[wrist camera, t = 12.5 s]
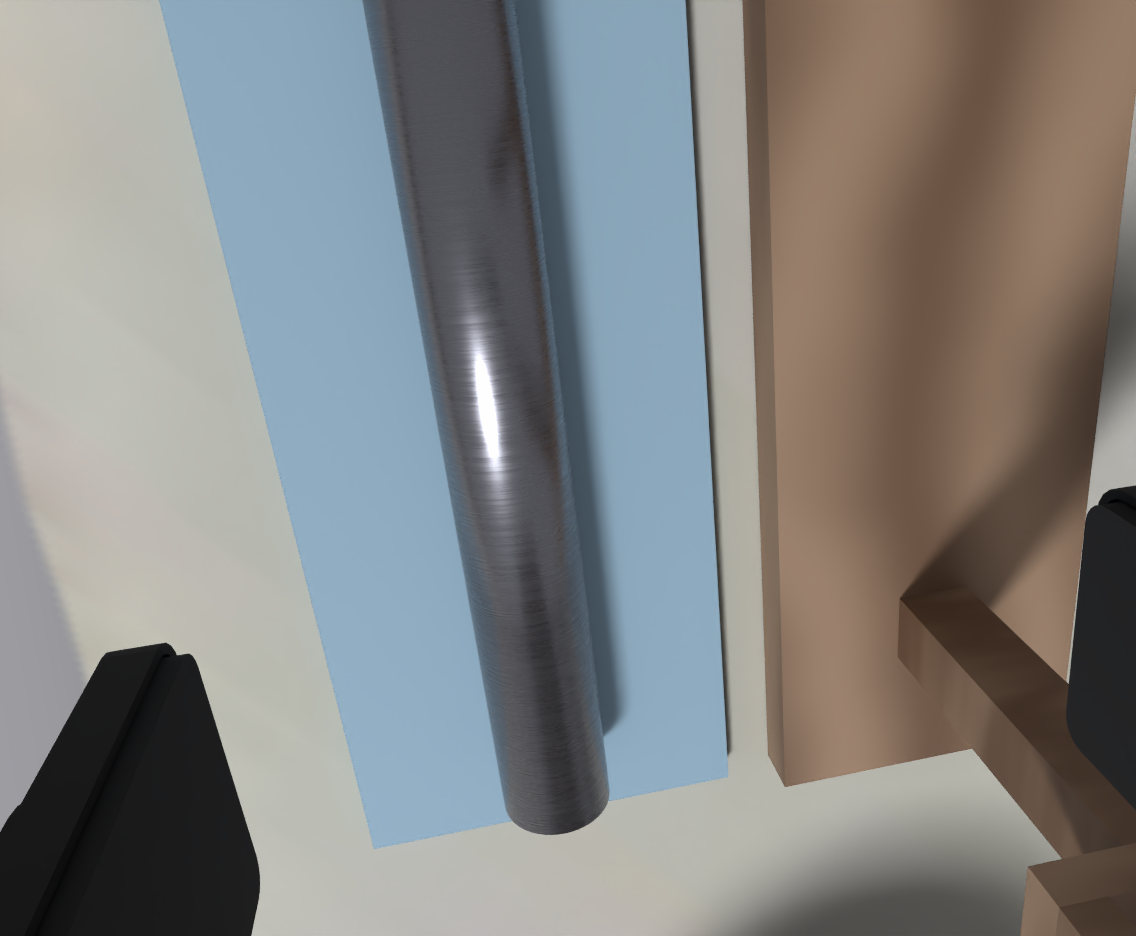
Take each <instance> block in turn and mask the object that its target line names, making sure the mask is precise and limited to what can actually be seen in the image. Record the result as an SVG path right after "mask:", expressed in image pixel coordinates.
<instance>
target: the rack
mask: <svg viewBox="0 0 1136 936" xmlns="http://www.w3.org/2000/svg"><path fill="white" fill-rule="evenodd" d="M743 26H744V56H745V85H746V115H747V144H748V174H749V204H750V233H751V263H752V292H753V322H754V351H755V381H756V411H757V440H758V470H759V499H760V529H761V558H762V588H763V618H764V647H765V677H766V706H767V736H768V756H769V757H770V759H771V761H772V763H773V765H774V767H775V769H776V771H777V773H778V775H779V776H780V778H781V780H782V782H783V784H784V786H785V787H788V786H793V785H797V784H802V783H807V782H812V781H817V780H822V779H826V778H831V777H836V776H841V775H846V774H851V773H856V772H860V771H865V770H870V769H875V768H880V767H885V766H890V765H894V764H899V763H904V762H909V761H914V760H919V759H923V758H928V757H933V756H938V755H943V754H948V753H953V752H957V751H962V750H967V749H973V750H974V751H975V753H976V754H977V755H978V756H979V757H980V759H981V760H982V761H983V762H984V764H985V765H986V766H987V767H988V768H989V770H990V771H991V772H992V773H993V775H994V776H995V777H996V778H997V779H998V781H999V782H1000V783H1001V784H1002V786H1003V787H1004V788H1005V789H1006V791H1007V792H1008V793H1009V794H1010V795H1011V797H1012V798H1013V799H1014V800H1015V802H1016V803H1017V804H1018V805H1019V806H1020V808H1021V809H1022V810H1023V811H1024V813H1025V814H1026V815H1027V816H1028V817H1029V819H1030V820H1031V821H1032V822H1033V824H1034V825H1035V826H1036V827H1037V829H1038V830H1039V831H1040V832H1041V833H1042V835H1043V836H1044V837H1045V838H1046V840H1047V841H1048V842H1049V843H1050V844H1051V846H1052V847H1053V848H1054V849H1055V851H1056V852H1057V853H1058V854H1059V855H1060V857H1061V858H1062V859H1060V860H1056V861H1051V862H1047V863H1042V864H1038V865H1033V866H1028V870H1027V879H1026V888H1025V898H1024V907H1023V916H1022V925H1021V934H1020V936H1136V810H1135V809H1134V808H1133V807H1132V806H1131V805H1130V804H1129V803H1128V802H1127V800H1126V799H1125V798H1124V797H1123V796H1122V795H1121V794H1120V793H1119V792H1118V791H1117V790H1116V789H1115V788H1114V787H1113V785H1112V784H1111V783H1110V782H1109V781H1108V780H1107V779H1106V778H1105V777H1104V776H1103V775H1102V774H1101V773H1100V772H1099V771H1098V769H1097V768H1096V767H1095V766H1094V765H1093V764H1092V763H1091V762H1090V761H1089V760H1088V759H1087V758H1086V757H1085V756H1084V755H1083V753H1082V752H1081V751H1080V750H1079V749H1078V748H1077V746H1076V745H1075V743H1074V741H1073V740H1072V738H1071V735H1070V733H1069V730H1068V726H1067V721H1066V708H1067V698H1068V688H1069V684H1068V683H1067V682H1066V679H1067V670H1068V662H1069V653H1070V645H1071V636H1072V628H1073V619H1074V611H1075V602H1076V594H1077V586H1078V577H1079V569H1080V560H1081V552H1082V543H1083V535H1084V526H1085V518H1086V509H1087V501H1088V492H1089V484H1090V475H1091V467H1092V459H1093V450H1094V442H1095V433H1096V425H1097V416H1098V408H1099V399H1100V391H1101V382H1102V374H1103V365H1104V357H1105V348H1106V340H1107V332H1108V323H1109V315H1110V306H1111V298H1112V289H1113V281H1114V272H1115V264H1116V255H1117V247H1118V238H1119V230H1120V221H1121V213H1122V205H1123V196H1124V188H1125V179H1126V171H1127V162H1128V154H1129V145H1130V137H1131V128H1132V120H1133V111H1134V103H1135V94H1136V0H743Z"/></svg>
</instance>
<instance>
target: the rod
mask: <svg viewBox="0 0 1136 936" xmlns="http://www.w3.org/2000/svg"><path fill="white" fill-rule="evenodd" d="M362 2H363V8H364V14H365V19H366V25H367V31H368V36H369V42H370V48H371V53H372V59H373V65H374V70H375V76H376V81H377V87H378V93H379V98H380V104H381V110H382V115H383V121H384V127H385V132H386V138H387V144H388V149H389V155H390V161H391V166H392V172H393V177H394V183H395V189H396V194H397V200H398V206H399V211H400V217H401V223H402V228H403V234H404V240H405V245H406V251H407V256H408V262H409V268H410V273H411V279H412V285H413V290H414V296H415V302H416V307H417V313H418V319H419V324H420V330H421V336H422V341H423V347H424V352H425V358H426V364H427V369H428V375H429V381H430V386H431V392H432V398H433V403H434V409H435V415H436V420H437V426H438V431H439V437H440V443H441V448H442V454H443V460H444V465H445V471H446V477H447V482H448V488H449V494H450V499H451V505H452V511H453V516H454V522H455V527H456V533H457V539H458V544H459V550H460V556H461V561H462V567H463V573H464V578H465V584H466V590H467V595H468V601H469V606H470V612H471V618H472V623H473V629H474V635H475V640H476V646H477V652H478V657H479V663H480V669H481V674H482V680H483V686H484V691H485V697H486V702H487V708H488V714H489V719H490V725H491V731H492V736H493V742H494V748H495V753H496V759H497V765H498V770H499V776H500V781H501V787H502V793H503V798H504V804H505V809H506V812H507V814H508V816H509V817H510V819H511V820H512V821H513V822H514V823H515V824H517V825H518V826H519V827H521V828H523V829H525V830H527V831H530V832H533V833H537V834H544V835H557V834H564V833H568V832H572V831H575V830H578V829H580V828H582V827H584V826H586V825H588V824H589V823H591V822H592V821H594V820H595V819H596V818H597V817H598V816H599V815H600V814H601V813H602V811H603V810H604V809H605V807H606V805H607V803H608V800H609V795H610V789H609V780H608V772H607V763H606V755H605V747H604V738H603V730H602V722H601V713H600V705H599V697H598V688H597V680H596V671H595V663H594V655H593V646H592V638H591V630H590V621H589V613H588V604H587V596H586V588H585V579H584V571H583V563H582V554H581V546H580V538H579V529H578V521H577V512H576V504H575V496H574V487H573V479H572V471H571V462H570V454H569V445H568V437H567V429H566V420H565V412H564V404H563V395H562V387H561V379H560V370H559V362H558V353H557V345H556V337H555V328H554V320H553V312H552V303H551V295H550V287H549V278H548V270H547V261H546V253H545V245H544V236H543V228H542V220H541V211H540V203H539V194H538V186H537V178H536V169H535V161H534V153H533V144H532V136H531V128H530V119H529V111H528V102H527V94H526V86H525V77H524V69H523V61H522V52H521V44H520V35H519V27H518V19H517V10H516V2H515V0H362Z"/></svg>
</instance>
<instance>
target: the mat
mask: <svg viewBox="0 0 1136 936" xmlns="http://www.w3.org/2000/svg"><path fill="white" fill-rule="evenodd" d="M159 2H160V6H161V10H162V14H163V17H164V21H165V25H166V29H167V33H168V37H169V41H170V45H171V49H172V53H173V57H174V61H175V65H176V69H177V73H178V77H179V81H180V85H181V89H182V92H183V96H184V100H185V104H186V108H187V112H188V116H189V120H190V124H191V128H192V132H193V136H194V140H195V144H196V148H197V152H198V156H199V160H200V164H201V168H202V171H203V175H204V179H205V183H206V187H207V191H208V195H209V199H210V203H211V207H212V211H213V215H214V219H215V223H216V227H217V231H218V235H219V239H220V243H221V247H222V250H223V254H224V258H225V262H226V266H227V270H228V274H229V278H230V282H231V286H232V290H233V294H234V298H235V302H236V306H237V310H238V314H239V318H240V322H241V325H242V329H243V333H244V337H245V341H246V345H247V349H248V353H249V357H250V361H251V365H252V369H253V373H254V377H255V381H256V385H257V389H258V393H259V397H260V401H261V404H262V408H263V412H264V416H265V420H266V424H267V428H268V432H269V436H270V440H271V444H272V448H273V452H274V456H275V460H276V464H277V468H278V472H279V476H280V479H281V483H282V487H283V491H284V495H285V499H286V503H287V507H288V511H289V515H290V519H291V523H292V527H293V531H294V535H295V539H296V543H297V547H298V551H299V555H300V558H301V562H302V566H303V570H304V574H305V578H306V582H307V586H308V590H309V594H310V598H311V602H312V606H313V610H314V614H315V618H316V622H317V626H318V630H319V633H320V637H321V641H322V645H323V649H324V653H325V657H326V661H327V665H328V669H329V673H330V677H331V681H332V685H333V689H334V693H335V697H336V701H337V705H338V709H339V712H340V716H341V720H342V724H343V728H344V732H345V736H346V740H347V744H348V748H349V752H350V756H351V760H352V764H353V768H354V772H355V776H356V780H357V784H358V788H359V791H360V795H361V799H362V803H363V807H364V811H365V815H366V819H367V823H368V827H369V831H370V835H371V839H372V843H373V847H374V849H377V848H382V847H386V846H391V845H396V844H401V843H406V842H411V841H416V840H421V839H426V838H431V837H436V836H440V835H445V834H450V833H455V832H460V831H465V830H470V829H475V828H480V827H485V826H489V825H494V824H499V823H504V822H509V821H512V820H511V819H510V817H509V816H508V814H507V812H506V809H505V804H504V798H503V793H502V787H501V781H500V776H499V770H498V765H497V759H496V753H495V748H494V742H493V736H492V731H491V725H490V719H489V714H488V708H487V702H486V697H485V691H484V686H483V680H482V674H481V669H480V663H479V657H478V652H477V646H476V640H475V635H474V629H473V623H472V618H471V612H470V606H469V601H468V595H467V590H466V584H465V578H464V573H463V567H462V561H461V556H460V550H459V544H458V539H457V533H456V527H455V522H454V516H453V511H452V505H451V499H450V494H449V488H448V482H447V477H446V471H445V465H444V460H443V454H442V448H441V443H440V437H439V431H438V426H437V420H436V415H435V409H434V403H433V398H432V392H431V386H430V381H429V375H428V369H427V364H426V358H425V352H424V347H423V341H422V336H421V330H420V324H419V319H418V313H417V307H416V302H415V296H414V290H413V285H412V279H411V273H410V268H409V262H408V256H407V251H406V245H405V240H404V234H403V228H402V223H401V217H400V211H399V206H398V200H397V194H396V189H395V183H394V177H393V172H392V166H391V161H390V155H389V149H388V144H387V138H386V132H385V127H384V121H383V115H382V110H381V104H380V98H379V93H378V87H377V81H376V76H375V70H374V65H373V59H372V53H371V48H370V42H369V36H368V31H367V25H366V19H365V14H364V8H363V2H362V0H159ZM515 2H516V10H517V19H518V27H519V35H520V44H521V52H522V61H523V69H524V77H525V86H526V94H527V102H528V111H529V119H530V128H531V136H532V144H533V153H534V161H535V169H536V178H537V186H538V194H539V203H540V211H541V220H542V228H543V236H544V245H545V253H546V261H547V270H548V278H549V287H550V295H551V303H552V312H553V320H554V328H555V337H556V345H557V353H558V362H559V370H560V379H561V387H562V395H563V404H564V412H565V420H566V429H567V437H568V445H569V454H570V462H571V471H572V479H573V487H574V496H575V504H576V512H577V521H578V529H579V538H580V546H581V554H582V563H583V571H584V579H585V588H586V596H587V604H588V613H589V621H590V630H591V638H592V646H593V655H594V663H595V671H596V680H597V688H598V697H599V705H600V713H601V722H602V730H603V738H604V747H605V755H606V763H607V772H608V780H609V789H610V795H609V800H608V801H612V800H617V799H622V798H627V797H632V796H637V795H642V794H647V793H651V792H656V791H661V790H666V789H671V788H676V787H681V786H686V785H691V784H696V783H700V782H705V781H710V780H715V779H720V778H725V777H728V761H727V743H726V725H725V706H724V688H723V670H722V652H721V634H720V616H719V598H718V580H717V562H716V544H715V526H714V508H713V490H712V471H711V453H710V435H709V417H708V399H707V381H706V363H705V345H704V327H703V309H702V291H701V273H700V255H699V236H698V218H697V200H696V182H695V164H694V146H693V128H692V110H691V92H690V74H689V56H688V38H687V20H686V2H685V0H515Z"/></svg>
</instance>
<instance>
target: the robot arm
mask: <svg viewBox="0 0 1136 936" xmlns="http://www.w3.org/2000/svg"><path fill="white" fill-rule="evenodd" d="M1066 721H1067V726H1068V730H1069V733H1070V735H1071V738H1072V740H1073V741H1074V743H1075V745H1076V746H1077V748H1078V749H1079V750H1080V751H1081V752H1082V753H1083V755H1084V756H1085V757H1086V758H1087V759H1088V760H1089V761H1090V762H1091V763H1092V764H1093V765H1094V766H1095V767H1096V768H1097V769H1098V771H1099V772H1100V773H1101V774H1102V775H1103V776H1104V777H1105V778H1106V779H1107V780H1108V781H1109V782H1110V783H1111V784H1112V785H1113V787H1114V788H1115V789H1116V790H1117V791H1118V792H1119V793H1120V794H1121V795H1122V796H1123V797H1124V798H1125V799H1126V800H1127V802H1128V803H1129V804H1130V805H1131V806H1132V807H1133V808H1134V809H1135V810H1136V486H1130V487H1123V488H1117V489H1111V490H1109V491H1107V492H1106V493H1104V494H1103V496H1102V498H1101V499H1100V501H1099V504H1098V505H1097V506H1094V507H1092V508H1091V509H1090V510H1089V512H1088V514H1087V517H1086V521H1085V530H1084V540H1083V550H1082V560H1081V570H1080V580H1079V589H1078V599H1077V609H1076V619H1075V629H1074V639H1073V649H1072V659H1071V669H1070V678H1069V688H1068V698H1067V708H1066ZM259 893H260V873H259V866H258V861H257V857H256V853H255V850H254V847H253V843H252V840H251V837H250V834H249V830H248V827H247V824H246V821H245V817H244V814H243V811H242V808H241V805H240V801H239V798H238V795H237V792H236V788H235V785H234V782H233V779H232V775H231V772H230V769H229V766H228V762H227V759H226V756H225V753H224V749H223V746H222V743H221V740H220V736H219V733H218V730H217V727H216V723H215V720H214V717H213V714H212V710H211V707H210V704H209V701H208V697H207V694H206V691H205V688H204V684H203V681H202V678H201V675H200V671H199V668H198V666H197V663H196V661H195V659H194V658H193V656H192V655H190V654H184V655H178V656H177V655H176V652H175V651H174V649H173V648H172V646H171V645H169V644H167V643H161V644H155V645H149V646H143V647H137V648H131V649H124V650H118V651H112V652H108V653H106V654H105V655H104V656H103V657H102V658H101V660H100V662H99V664H98V666H97V667H96V669H95V671H94V673H93V675H92V676H91V678H90V680H89V682H88V684H87V686H86V687H85V689H84V691H83V693H82V695H81V696H80V698H79V700H78V702H77V704H76V706H75V707H74V709H73V711H72V713H71V714H70V716H69V718H68V720H67V722H66V724H65V725H64V727H63V729H62V731H61V732H60V734H59V736H58V738H57V740H56V742H55V743H54V745H53V747H52V749H51V751H50V753H49V754H48V756H47V758H46V760H45V762H44V763H43V765H42V767H41V769H40V770H39V772H38V774H37V776H36V778H35V780H34V781H33V783H32V785H31V787H30V789H29V790H28V792H27V794H26V796H25V798H24V799H23V801H22V803H21V804H20V805H19V806H17V808H16V809H15V810H14V811H13V813H12V814H11V815H10V816H9V818H8V819H7V821H6V823H5V825H4V827H3V828H2V830H1V832H0V936H251V934H252V929H253V924H254V919H255V914H256V910H257V905H258V900H259Z"/></svg>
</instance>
